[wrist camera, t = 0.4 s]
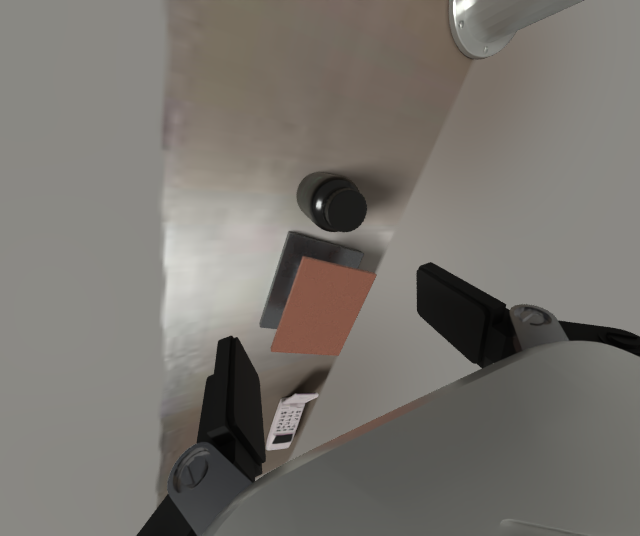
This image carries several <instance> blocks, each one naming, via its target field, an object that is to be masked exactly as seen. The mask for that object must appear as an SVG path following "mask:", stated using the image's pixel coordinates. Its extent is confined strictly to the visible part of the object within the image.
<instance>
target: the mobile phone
mask: <svg viewBox="0 0 640 536" xmlns="http://www.w3.org/2000/svg"><path fill="white" fill-rule="evenodd" d="M318 396H319V394H318V393H295V394H294V395H293V396H291V397H284V398H281V400H280V402H279V405H278V408H277V411H276V414H275V416H274V419H273V423H272V426H271V429H270V432H269V435H268V439H267V445H266V449H267V450H276V449H283V448H288V447H289V446H290V444H291V442H292V439H293V437H294V435H295V432H296V429H297V426H298V423H299V420H300V417H301V414H302V411H303V408H304V406H305V403H306V402H308V401H310V400H312V399H314V398H316V397H318Z"/></svg>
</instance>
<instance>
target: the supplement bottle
mask: <svg viewBox="0 0 640 536" xmlns="http://www.w3.org/2000/svg"><path fill="white" fill-rule="evenodd" d="M297 203H298V205H299V207H300V209H301V211H302V212H303V213H304V214H305V215H306V216H307V217H308V218H309V219H311V220H312V221H313V222H314V223H315V224H316V225H317V226H318V227H320V228H321V229H323V230H325V231H329V232H338V231H339V232H349V231H352V230H355V229H356V228H358V227H359V226H360V225H361V223H362V222H363V221H364V219H365V215H366V211H367V205H366V201H365V198H364V197H363V195H362V194H360V192H359V190H358V188H357V186H356V185H355V184H354V183H353V182H352V181H351V180H349V179H347V178H345V177H342V176H337V175H333V174H328V173H323V172H315V173H312V174H309V175H308V176H306V177H305V178H304V179H303V180H302V181H301V183H300V184H299V187H298V190H297Z"/></svg>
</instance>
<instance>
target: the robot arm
mask: <svg viewBox="0 0 640 536" xmlns="http://www.w3.org/2000/svg"><path fill="white" fill-rule="evenodd" d="M582 1H584V0H449V22H450V28H451V32H452V36H453V38H454V41H455V43H456V45H457V46H458V48H459V50H460V51H461V52H462V53H463V54H464V55H465V56H467V57H469V58H471V59H484V58H487V57H489V56H492V55H494V54H496V53H497V52H499V51H500V50H501V49H503V48H504V47H505V46H506V45H507V44H508V43H509V41H510V40H511V39H512V38H513V36H514V34H515V33H516V32H517V30H520V29H522V28H524V27H526V26H528V25H531V24H533V23H535V22H537V21H539V20H542V19H544V18H546V17H548V16H551V15H553V14H555V13H557V12H559V11H561V10H564V9H566V8H568V7H570V6H573V5H575V4H577V3H579V2H582ZM417 312H418V314H419V315H420V316H421V317H422V318H423V319H424V320H425V321H426V322H427V323H429V325H431V326H432V327H433V328H434V329H435V330H436V331H437V332H438V333H440V334H441V335H442V336H443V337H444V338H445V339H446V340H447V341H448V342H450V343H451V344H452V345H453V346H454V347H455V348H456V349H457V350H458V351H460V352H461V353H462V354H463V355H464V356H465V357H466V358H467V359H468V360H470V361H471V362H472V363H475V364H478V365H479V366H480V367H481V368H482V369H480V370H478V371H476V372H474V373H472V374H470V375H467V376H465V377H463V378H461V379H459V380H457V381H455V382H453V383H450V384H448V385H446V386H444V387H442V388H440V389H438V390H436V391H433V392H431V393H429V394H427V395H425V396H423V397H421V398H418V399H416V400H414V401H412V402H410V403H408V404H406V405H404V406H402V407H400V408H397V409H395V410H393V411H391V412H389V413H387V414H385V415H383V416H381V417H378V418H376V419H374V420H372V421H370V422H368V423H366V424H364V425H362V426H360V427H358V428H356V429H354V430H351V431H349V432H347V433H345V434H343V435H341V436H339V437H337V438H335V439H333V440H331V441H329V442H327V443H324V444H323V445H321V446H319V447H316V448H314V449H312V450H310V451H308V452H307V453H305V454H303V455H301V456H299V457H297V458H295V459H293V460H291V461H289V462H287V463H285V464H283V465H281V466H279V467H278V468H276V469H274V470H272V471H271V472H269V473H267V474H265V475H264V476H262V477H261V478H259V479H258V480H257V481H255V477H256V476H259V475H261V474H262V463H264V462H265V461H266V455H265V443H264V430H263V418H262V405H261V393H260V381H259V377H258V374H257V372H256V370H255V369H254V367H253V365H252V363H251V361H250V359H249V357H248V355H247V354H246V352H245V350H244V348H243V346H242V344H241V342H240V341H239V339H238V337H236V338H233V336H229V337H226V338H224V339H221V340H219V341H218V346H217V354H216V362H215V370H214V374H213V375H211V376H208V378H207V381H206V386H205V392H204V399H203V405H202V412H201V418H200V424H199V431H198V437H197V444H195V445H193V446H191V447H190V448H188V449H187V450H186V451H185V452H184V453H183V454H182V455H181V456H180V457H179V459H178V460H177V461H176V463H175V464H174V466H173V468H172V470H171V472H170V475H169V478H168V481H167V491H168V495H167V496H166V497H165V499H164V500H163V501H162V503H161V504H160V505H159V507H158V508H157V509H156V511H155V512H154V513H153V514H152V516H151V517H150V519H149V520H148V521H147V522H146V524H145V525H144V526H143V528H142V529H141V530H140V532H139V533H138V534H137V536H640V337H639V336H637V335H635V334H633V333H631V332H628V331H625V330H621V329H616V328H610V327H603V326H594V325H587V324H580V323H572V322H565V321H558V320H557V318H556V317H555V316H554V315H553V314H552V313H550V312H549V311H548V310H545V309H543V308H541V307H538V306H534V305H527V304H526V305H525V304H524V305H523V304H521V305H516V306H514V307H512V308H511V309H510V310H509V309H507V308H506V304H505V303H503V302H501V301H499V300H498V299H496V298H494V297H492V296H490V295H489V294H487V293H485V292H483V291H481V290H480V289H478V288H476V287H474V286H473V285H471V284H469V283H467V282H466V281H464V280H462V279H460V278H458V277H457V276H455V275H453V274H451V273H449V272H448V271H446V270H444V269H442V268H441V267H439V266H437V265H435V264H433V263H431V262H430V263H427V264H424V265H421V266H420V267H419V269H418V270H417Z"/></svg>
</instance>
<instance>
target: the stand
mask: <svg viewBox="0 0 640 536" xmlns="http://www.w3.org/2000/svg"><path fill="white" fill-rule="evenodd" d="M363 255H364V254H363V253H362V252H361V251H357V250H354V249H350V248H346V247H343V246H339V245H336V244H332V243H328V242H325V241H321V240H317V239H314V238H310V237H307V236H303V235H299V234H296V233H292V232H288V235H287V238H286V241H285V244H284V247H283V250H282V254H281V257H280V260H279V263H278V266H277V269H276V273H275V276H274V279H273V282H272V285H271V288H270V292H269V295H268V298H267V301H266V304H265V307H264V311H263V314H262V317H261V320H260V327H262V328H272V329H277V331H276V334H275V337H274V340H273V343H272V346H271V352H285V353H303V354H320V355H337V356H338V355H339V354H340V352H341V349H342V347H343V345H344V343H345V341H346V339H347V337H348V335H349V333H350V330H351V328H352V326H353V324H354V322H355V320H356V318H357V316H358V313H359V311H360V309H361V307H362V305H363V303H364V301H365V299H366V297H367V294H368V292H369V290H370V288H371V286H372V284H373V282H374V280H375V278H376V274H375V273H373V272H369V271H364V270H360V269H357V268H358V266H359V264H360V262H361V259H362V257H363Z"/></svg>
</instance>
